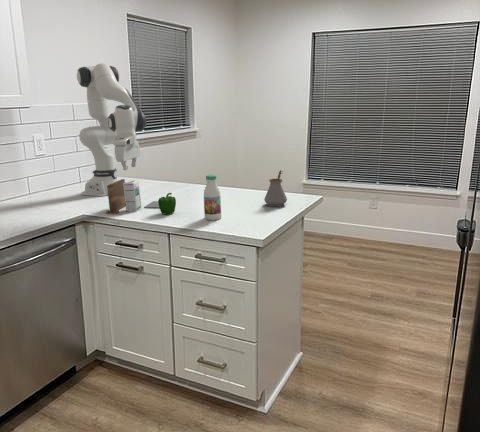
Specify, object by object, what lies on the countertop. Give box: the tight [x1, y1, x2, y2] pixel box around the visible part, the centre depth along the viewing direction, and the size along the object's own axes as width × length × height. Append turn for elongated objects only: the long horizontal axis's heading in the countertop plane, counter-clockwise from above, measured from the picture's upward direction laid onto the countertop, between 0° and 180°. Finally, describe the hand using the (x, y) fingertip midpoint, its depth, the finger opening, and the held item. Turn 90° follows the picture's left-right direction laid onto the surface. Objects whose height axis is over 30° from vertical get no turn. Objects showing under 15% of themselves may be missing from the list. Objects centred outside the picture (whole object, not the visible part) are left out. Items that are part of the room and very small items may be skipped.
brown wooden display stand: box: [105, 178, 126, 215], centre depth 227 cm, size 6×16×14 cm, turn 169°
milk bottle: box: [203, 174, 222, 221], centre depth 206 cm, size 8×8×20 cm
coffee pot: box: [263, 170, 288, 208], centre depth 232 cm, size 21×12×15 cm, turn 165°
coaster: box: [144, 200, 160, 209], centre depth 235 cm, size 12×12×1 cm
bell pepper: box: [157, 192, 177, 216], centre depth 217 cm, size 8×8×10 cm
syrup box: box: [123, 180, 142, 212], centre depth 226 cm, size 6×6×14 cm
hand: (129, 168), depth 222 cm, fingers open, 8 cm apart
